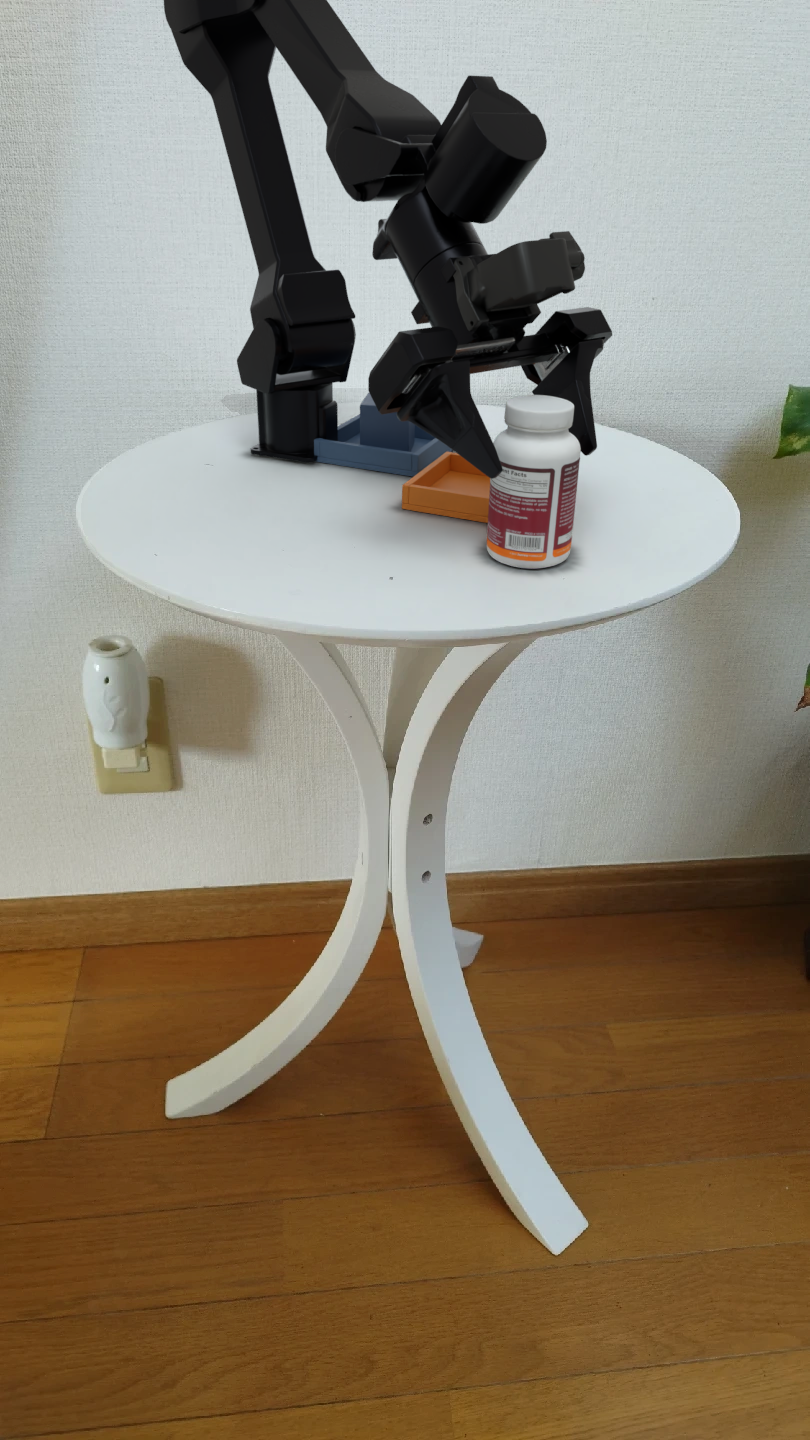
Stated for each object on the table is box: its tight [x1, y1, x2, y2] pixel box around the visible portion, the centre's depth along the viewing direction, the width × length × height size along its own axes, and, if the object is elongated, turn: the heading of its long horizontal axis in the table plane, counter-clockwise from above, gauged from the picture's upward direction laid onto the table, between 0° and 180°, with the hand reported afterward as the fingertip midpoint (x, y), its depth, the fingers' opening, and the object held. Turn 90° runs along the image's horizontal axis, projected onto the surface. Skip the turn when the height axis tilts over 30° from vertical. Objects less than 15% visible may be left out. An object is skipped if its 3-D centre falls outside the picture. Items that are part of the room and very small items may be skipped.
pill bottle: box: [486, 394, 582, 570], centre depth 72 cm, size 6×6×11 cm
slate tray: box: [314, 413, 454, 478], centre depth 94 cm, size 10×10×2 cm
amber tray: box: [401, 451, 490, 524], centre depth 84 cm, size 10×10×2 cm
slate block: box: [359, 392, 415, 452], centre depth 94 cm, size 4×4×4 cm
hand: (546, 463), depth 70 cm, fingers open, 9 cm apart
